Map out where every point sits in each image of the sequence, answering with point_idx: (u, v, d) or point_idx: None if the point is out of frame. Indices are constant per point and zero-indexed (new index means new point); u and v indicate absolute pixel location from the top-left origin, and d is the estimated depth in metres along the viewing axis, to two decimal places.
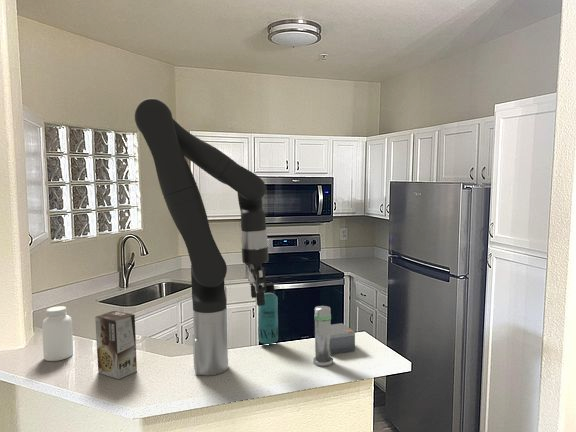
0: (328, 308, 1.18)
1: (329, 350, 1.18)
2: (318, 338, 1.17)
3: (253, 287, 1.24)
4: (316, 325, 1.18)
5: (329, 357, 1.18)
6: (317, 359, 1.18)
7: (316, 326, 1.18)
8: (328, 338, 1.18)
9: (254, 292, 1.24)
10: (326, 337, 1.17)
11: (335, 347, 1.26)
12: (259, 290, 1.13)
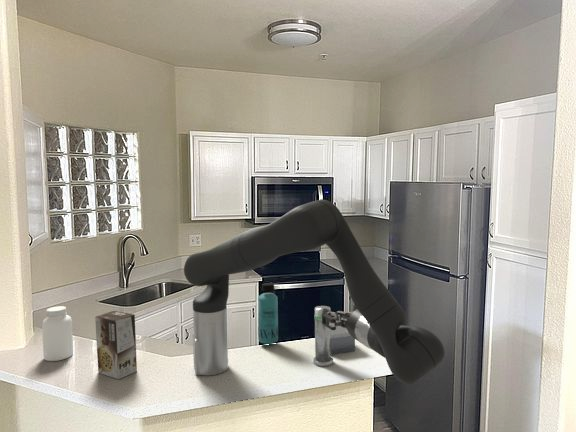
0: (328, 308, 1.18)
1: (329, 350, 1.18)
2: (318, 338, 1.17)
3: None
4: (316, 325, 1.18)
5: (329, 357, 1.18)
6: (317, 359, 1.18)
7: (316, 326, 1.18)
8: (328, 338, 1.18)
9: (356, 309, 1.08)
10: (326, 337, 1.17)
11: (335, 347, 1.26)
12: (322, 316, 1.01)
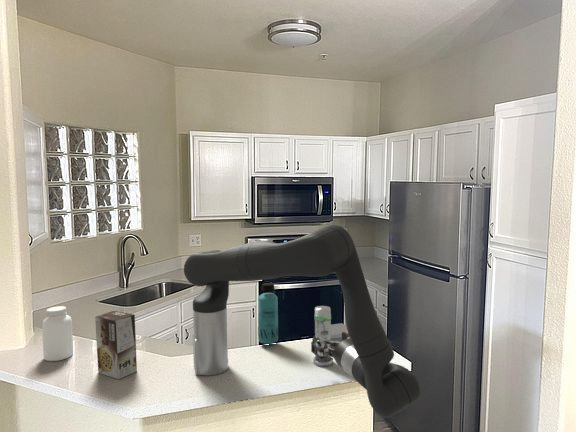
0: (328, 308, 1.18)
1: None
2: None
3: (346, 338, 1.13)
4: (316, 325, 1.18)
5: (329, 357, 1.18)
6: (317, 359, 1.18)
7: (316, 326, 1.18)
8: (328, 338, 1.18)
9: (344, 337, 1.15)
10: (326, 337, 1.17)
11: None
12: (311, 344, 1.08)
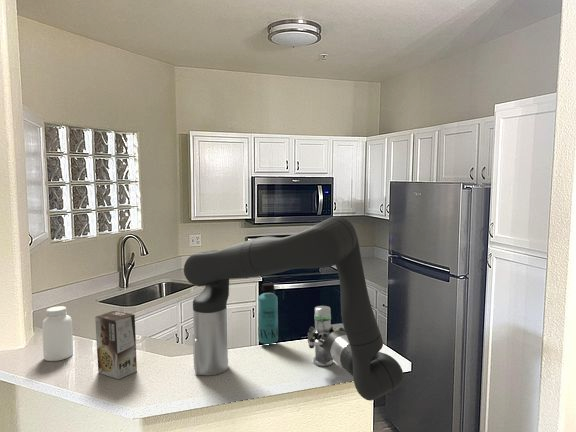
0: (328, 308, 1.18)
1: None
2: None
3: None
4: (316, 325, 1.18)
5: (329, 357, 1.18)
6: (317, 359, 1.18)
7: (316, 326, 1.18)
8: None
9: None
10: None
11: None
12: (308, 334, 1.15)
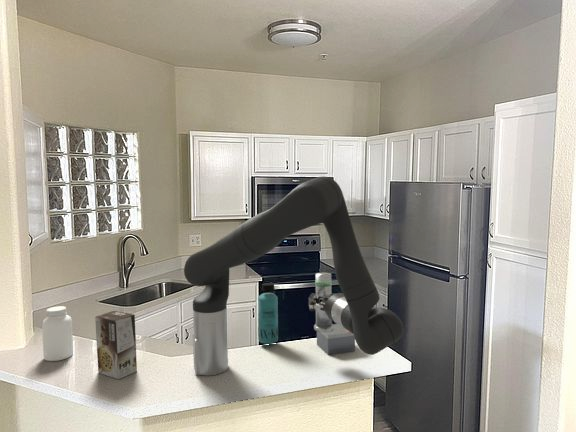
0: (329, 274, 1.18)
1: None
2: None
3: (331, 296, 1.19)
4: (317, 291, 1.18)
5: (330, 323, 1.18)
6: (318, 325, 1.18)
7: (317, 292, 1.18)
8: None
9: None
10: None
11: (335, 347, 1.26)
12: None
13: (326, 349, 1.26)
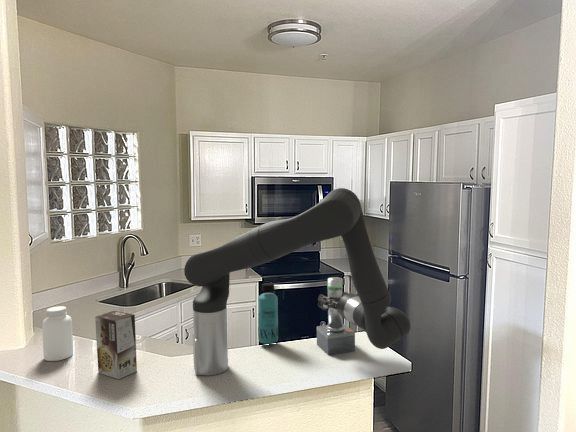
0: (340, 278, 1.29)
1: (341, 317, 1.29)
2: None
3: None
4: (329, 294, 1.28)
5: (341, 323, 1.29)
6: (330, 325, 1.29)
7: (329, 295, 1.28)
8: None
9: None
10: None
11: (335, 347, 1.26)
12: (318, 300, 1.25)
13: (326, 349, 1.26)
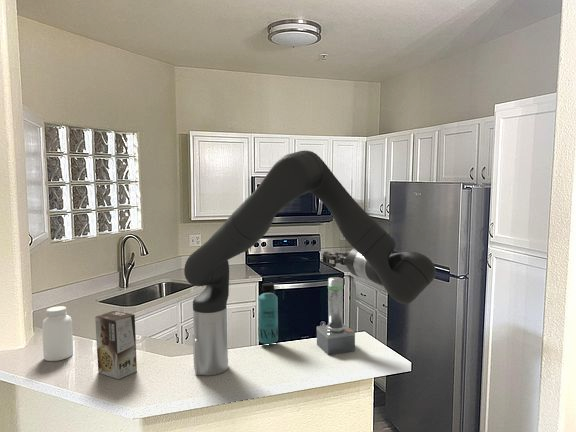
0: (340, 279, 1.29)
1: (341, 317, 1.29)
2: (331, 306, 1.28)
3: None
4: (329, 294, 1.28)
5: (341, 324, 1.29)
6: (330, 325, 1.29)
7: (329, 295, 1.28)
8: (340, 306, 1.28)
9: None
10: (339, 305, 1.28)
11: (335, 347, 1.26)
12: None
13: (326, 349, 1.26)
